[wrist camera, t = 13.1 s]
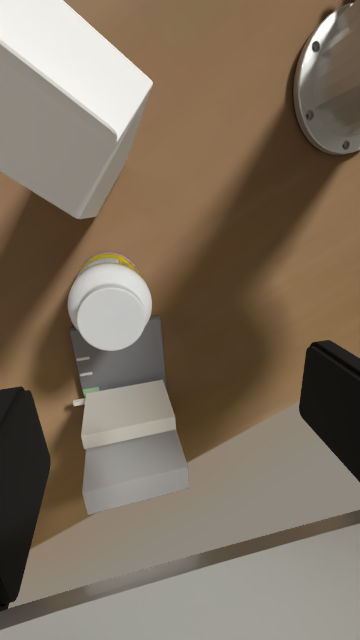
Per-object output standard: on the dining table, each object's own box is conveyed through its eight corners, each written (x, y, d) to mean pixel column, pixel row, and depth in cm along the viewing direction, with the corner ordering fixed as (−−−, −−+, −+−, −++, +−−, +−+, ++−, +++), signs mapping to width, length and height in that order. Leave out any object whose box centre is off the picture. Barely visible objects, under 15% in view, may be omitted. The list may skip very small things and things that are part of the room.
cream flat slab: (72, 395, 33) (64, 439, 26) (162, 379, 35) (175, 416, 28) (75, 407, 33) (67, 452, 27) (163, 390, 35) (176, 429, 29)
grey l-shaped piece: (70, 327, 32) (53, 379, 22) (158, 315, 34) (180, 358, 24) (93, 433, 38) (87, 515, 27) (168, 417, 39) (189, 488, 29)
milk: (67, 120, 26) (-76, -229, 6) (126, 164, 28) (175, 26, 8) (36, 181, 27) (-180, 69, 7) (96, 219, 29) (70, 221, 9)
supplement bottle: (145, 304, 33) (166, 353, 22) (87, 316, 32) (75, 374, 20) (134, 246, 31) (151, 265, 19) (71, 256, 30) (47, 283, 18)
